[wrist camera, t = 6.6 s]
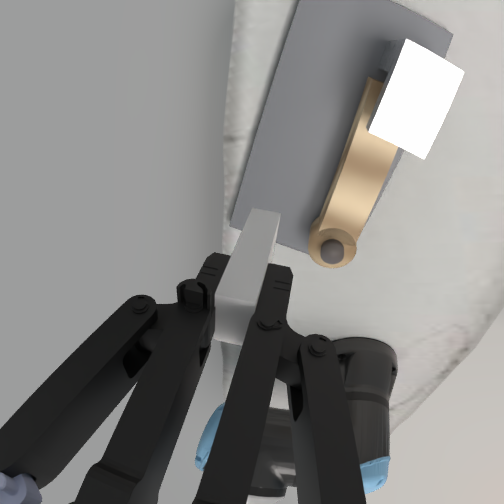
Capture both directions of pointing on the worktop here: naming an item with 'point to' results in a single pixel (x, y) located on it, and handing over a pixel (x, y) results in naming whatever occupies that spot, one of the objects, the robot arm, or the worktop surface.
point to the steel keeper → (413, 96)
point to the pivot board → (321, 106)
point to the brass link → (352, 188)
